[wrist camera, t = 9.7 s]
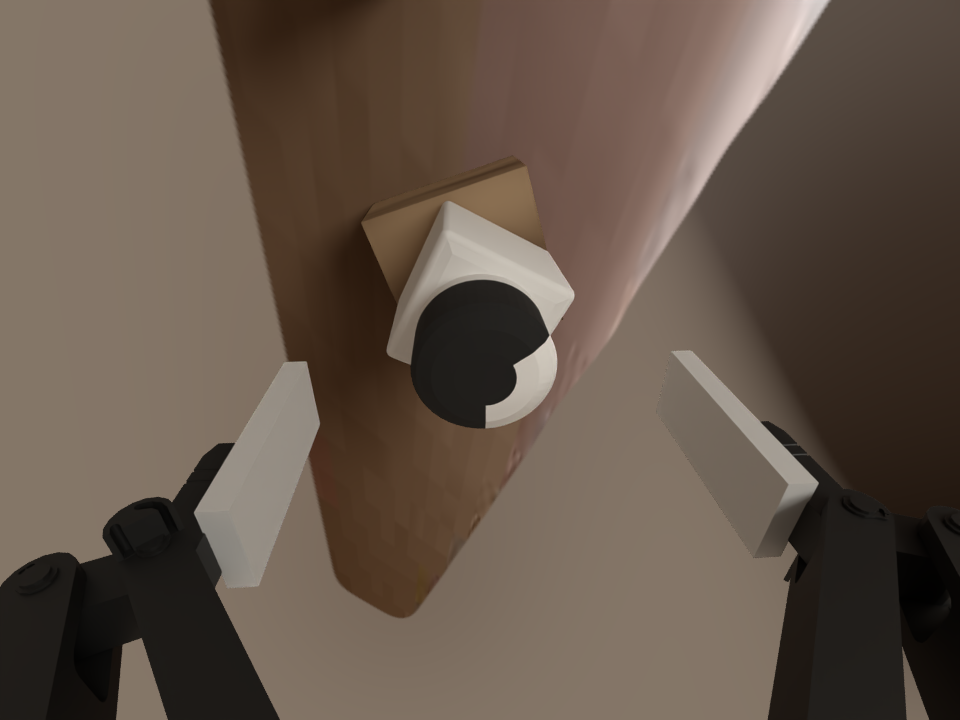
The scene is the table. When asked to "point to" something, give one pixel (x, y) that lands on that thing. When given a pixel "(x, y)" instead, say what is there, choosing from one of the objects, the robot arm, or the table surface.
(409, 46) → the table surface
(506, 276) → the medicine bottle
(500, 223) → the wooden block
